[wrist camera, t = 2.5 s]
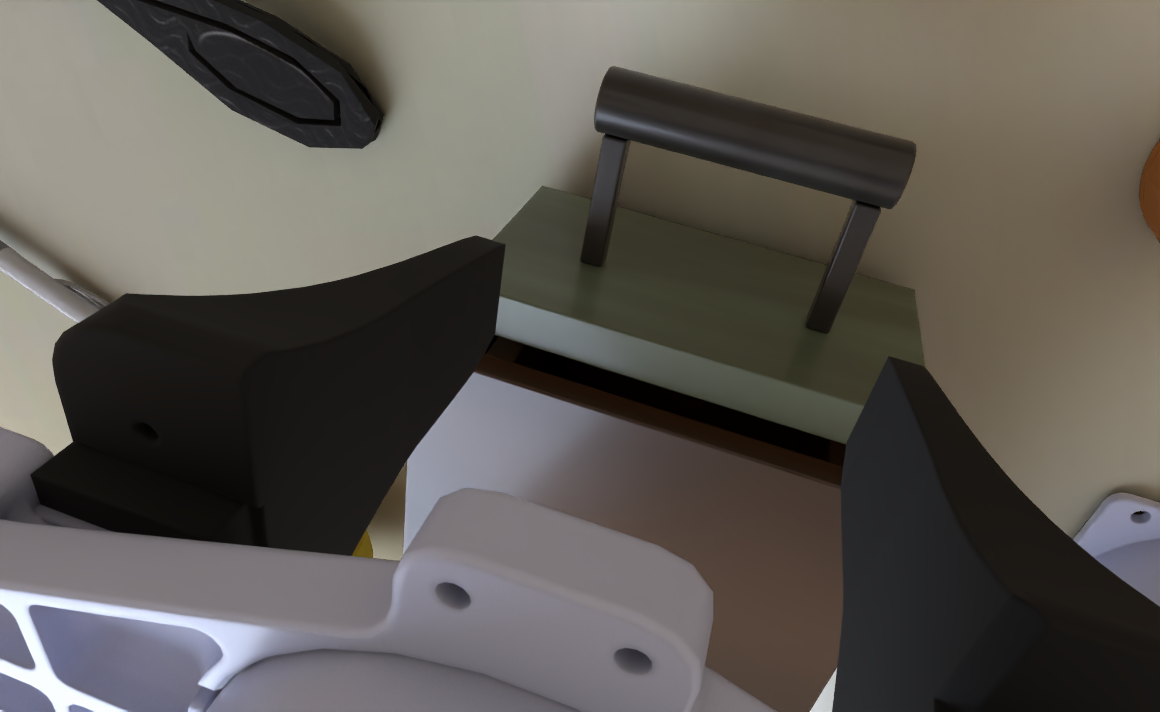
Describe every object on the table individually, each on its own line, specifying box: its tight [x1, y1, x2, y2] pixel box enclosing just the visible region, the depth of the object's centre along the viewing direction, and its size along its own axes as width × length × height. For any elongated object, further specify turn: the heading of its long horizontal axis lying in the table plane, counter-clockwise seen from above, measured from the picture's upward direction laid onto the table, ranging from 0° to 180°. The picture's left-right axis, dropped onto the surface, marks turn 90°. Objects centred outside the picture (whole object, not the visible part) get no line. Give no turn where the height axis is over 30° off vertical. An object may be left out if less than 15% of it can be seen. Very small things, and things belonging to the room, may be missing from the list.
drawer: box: [486, 66, 925, 467], centre depth 23 cm, size 18×11×7 cm, turn 169°
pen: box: [0, 241, 109, 323], centre depth 33 cm, size 1×14×1 cm, turn 56°
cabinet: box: [403, 335, 843, 712], centre depth 26 cm, size 15×13×8 cm
